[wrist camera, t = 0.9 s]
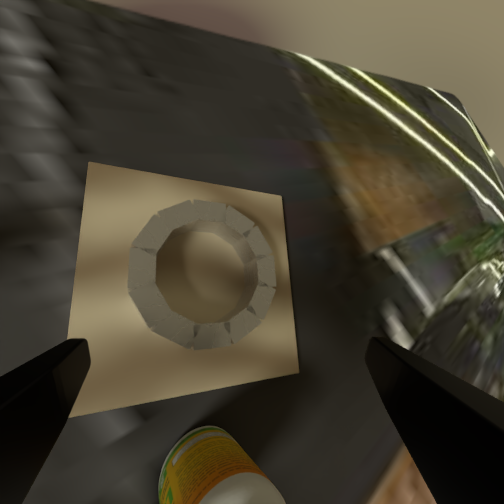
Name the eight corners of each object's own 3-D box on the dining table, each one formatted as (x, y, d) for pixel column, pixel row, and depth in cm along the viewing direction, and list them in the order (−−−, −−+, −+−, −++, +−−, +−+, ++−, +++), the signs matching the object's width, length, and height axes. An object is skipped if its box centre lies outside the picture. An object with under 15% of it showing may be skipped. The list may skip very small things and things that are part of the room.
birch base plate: (292, 370, 21) (299, 372, 20) (62, 413, 14) (57, 420, 13) (276, 200, 25) (281, 196, 24) (90, 169, 18) (88, 161, 17)
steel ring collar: (264, 338, 20) (281, 339, 17) (123, 353, 15) (122, 359, 13) (256, 221, 22) (270, 210, 20) (133, 206, 18) (133, 190, 16)
